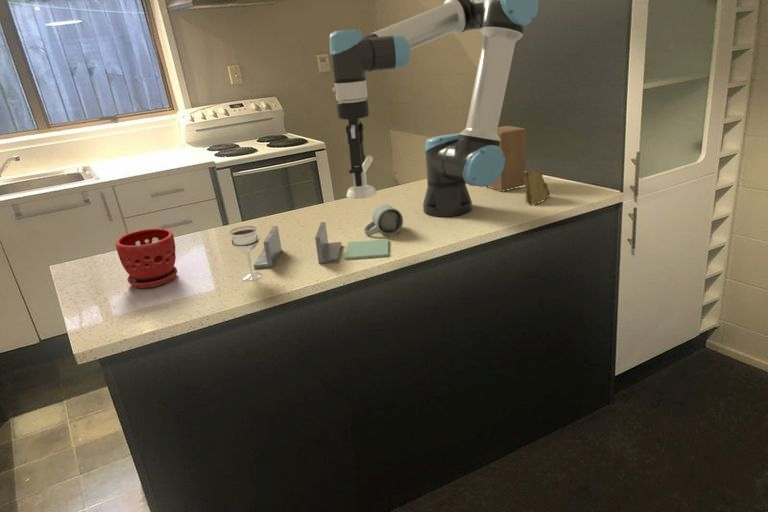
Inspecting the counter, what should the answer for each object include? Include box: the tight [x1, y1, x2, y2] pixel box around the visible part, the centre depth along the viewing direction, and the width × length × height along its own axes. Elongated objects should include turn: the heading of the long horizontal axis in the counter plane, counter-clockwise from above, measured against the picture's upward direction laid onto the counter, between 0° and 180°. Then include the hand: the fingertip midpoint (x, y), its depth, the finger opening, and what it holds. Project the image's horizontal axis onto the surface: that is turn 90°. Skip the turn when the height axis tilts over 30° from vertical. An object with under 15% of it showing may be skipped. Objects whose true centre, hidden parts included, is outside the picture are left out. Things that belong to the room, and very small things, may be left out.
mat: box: [344, 238, 389, 260], centre depth 141 cm, size 11×11×1 cm
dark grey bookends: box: [253, 221, 343, 270], centre depth 140 cm, size 21×12×7 cm, turn 89°
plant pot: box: [115, 228, 178, 289], centre depth 132 cm, size 13×13×12 cm
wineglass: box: [228, 225, 263, 282], centre depth 129 cm, size 7×7×12 cm
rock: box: [524, 170, 551, 206], centre depth 167 cm, size 11×9×10 cm
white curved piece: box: [346, 154, 378, 200], centre depth 134 cm, size 8×12×7 cm
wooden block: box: [488, 125, 527, 191], centre depth 183 cm, size 10×10×20 cm
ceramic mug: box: [363, 204, 404, 236], centre depth 152 cm, size 11×8×8 cm
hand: (361, 193), depth 135 cm, fingers closed on white curved piece, 8 cm apart
